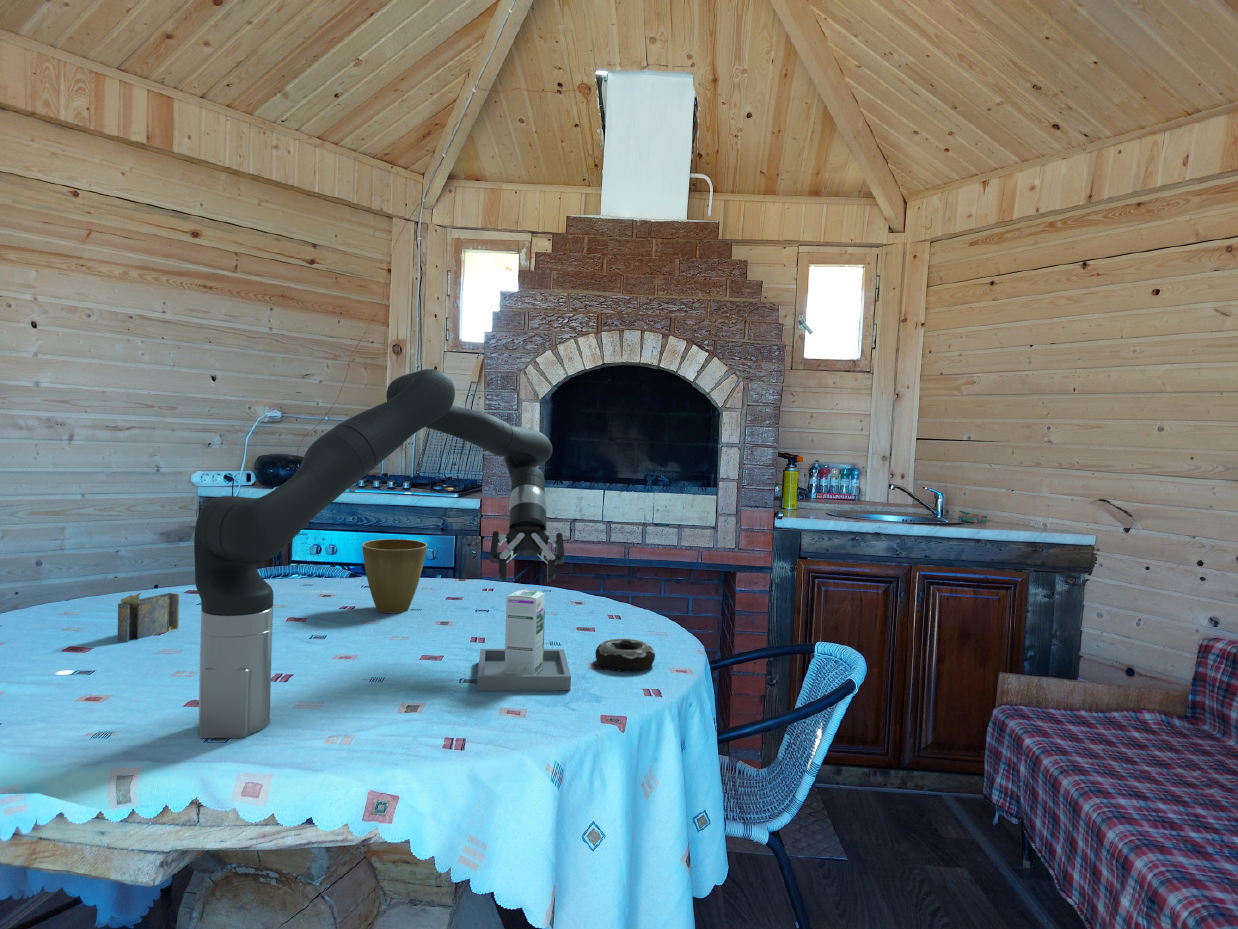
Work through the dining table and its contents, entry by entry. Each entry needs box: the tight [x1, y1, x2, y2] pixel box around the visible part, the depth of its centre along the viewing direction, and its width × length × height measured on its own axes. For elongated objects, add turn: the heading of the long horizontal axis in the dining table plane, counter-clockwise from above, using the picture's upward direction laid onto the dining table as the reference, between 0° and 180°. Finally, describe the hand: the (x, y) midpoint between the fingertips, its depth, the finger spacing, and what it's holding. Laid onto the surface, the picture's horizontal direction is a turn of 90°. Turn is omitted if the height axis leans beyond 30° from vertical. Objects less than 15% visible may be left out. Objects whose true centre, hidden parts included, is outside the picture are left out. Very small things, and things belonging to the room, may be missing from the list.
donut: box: [595, 638, 656, 672], centre depth 146 cm, size 12×12×4 cm
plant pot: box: [361, 538, 428, 614], centre depth 178 cm, size 15×15×16 cm
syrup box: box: [504, 589, 546, 675], centre depth 135 cm, size 6×6×14 cm
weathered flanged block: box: [116, 592, 180, 643], centre depth 149 cm, size 11×3×10 cm, turn 162°
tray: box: [476, 648, 572, 692], centre depth 136 cm, size 16×16×2 cm
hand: (527, 579), depth 141 cm, fingers open, 8 cm apart
